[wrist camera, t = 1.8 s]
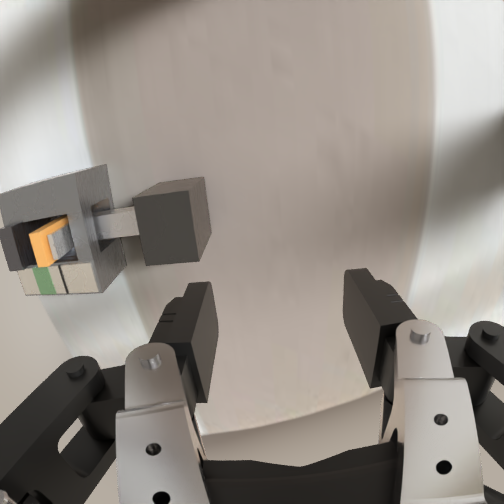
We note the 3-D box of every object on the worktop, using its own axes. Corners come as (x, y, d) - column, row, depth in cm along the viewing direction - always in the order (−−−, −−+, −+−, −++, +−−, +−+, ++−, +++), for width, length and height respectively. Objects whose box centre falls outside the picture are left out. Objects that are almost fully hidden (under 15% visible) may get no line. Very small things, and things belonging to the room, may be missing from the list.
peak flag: (81, 209, 26) (39, 232, 20) (87, 237, 27) (48, 266, 21) (71, 210, 26) (28, 234, 20) (78, 238, 28) (38, 267, 21)
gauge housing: (106, 164, 26) (67, 175, 20) (126, 265, 30) (98, 298, 23) (32, 182, 26) (-10, 197, 20) (54, 271, 30) (20, 300, 24)
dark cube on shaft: (204, 176, 26) (185, 193, 19) (211, 232, 28) (197, 267, 21) (87, 195, 27) (42, 216, 20) (98, 244, 29) (59, 277, 22)
